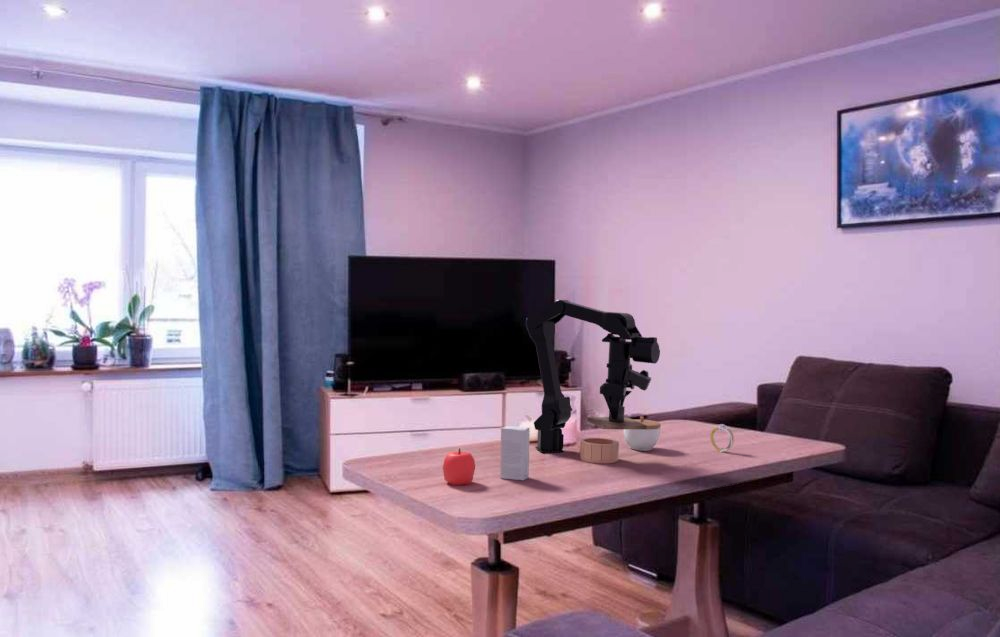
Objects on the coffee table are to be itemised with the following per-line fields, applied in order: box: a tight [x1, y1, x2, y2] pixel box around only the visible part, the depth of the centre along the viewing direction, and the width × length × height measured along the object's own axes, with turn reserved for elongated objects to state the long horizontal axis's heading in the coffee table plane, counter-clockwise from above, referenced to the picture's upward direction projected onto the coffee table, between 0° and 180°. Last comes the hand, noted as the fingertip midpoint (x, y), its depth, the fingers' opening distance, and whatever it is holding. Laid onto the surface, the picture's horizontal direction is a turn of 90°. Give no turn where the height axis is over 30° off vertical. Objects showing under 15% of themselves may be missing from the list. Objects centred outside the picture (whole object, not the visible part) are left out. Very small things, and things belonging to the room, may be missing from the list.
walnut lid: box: [586, 405, 647, 430], centre depth 198 cm, size 12×12×5 cm
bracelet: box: [710, 423, 735, 453], centre depth 214 cm, size 7×3×8 cm, turn 35°
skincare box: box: [499, 425, 531, 481], centre depth 176 cm, size 6×4×12 cm
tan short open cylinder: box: [579, 437, 620, 465], centre depth 199 cm, size 10×10×5 cm
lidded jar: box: [622, 416, 661, 452], centre depth 216 cm, size 11×11×9 cm
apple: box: [442, 447, 476, 486], centre depth 170 cm, size 8×8×8 cm
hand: (616, 418), depth 198 cm, fingers closed on walnut lid, 4 cm apart
